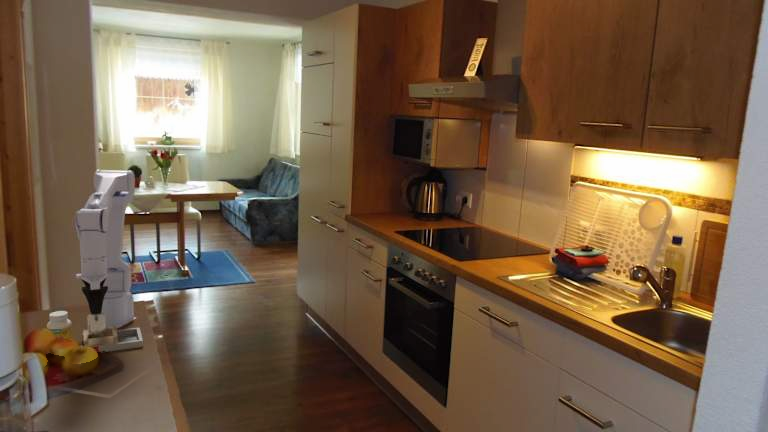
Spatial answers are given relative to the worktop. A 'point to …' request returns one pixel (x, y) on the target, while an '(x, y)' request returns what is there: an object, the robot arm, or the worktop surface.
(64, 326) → the supplement bottle
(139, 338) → the bay
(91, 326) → the handle peg
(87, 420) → the worktop surface
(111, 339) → the crate
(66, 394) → the worktop surface
